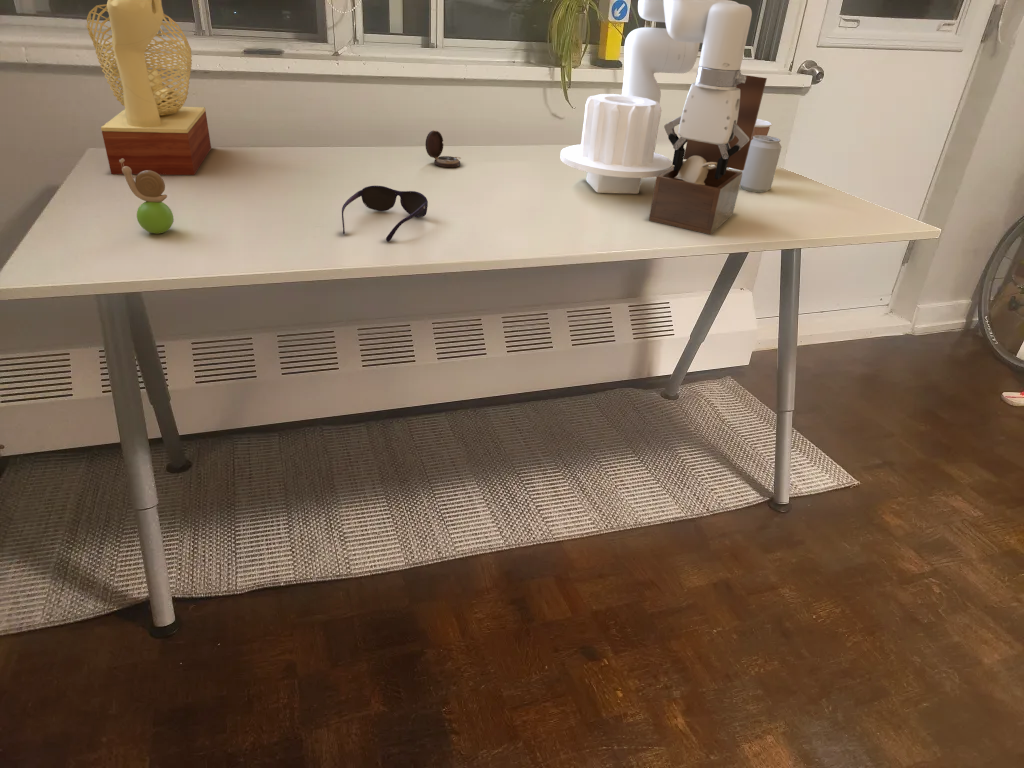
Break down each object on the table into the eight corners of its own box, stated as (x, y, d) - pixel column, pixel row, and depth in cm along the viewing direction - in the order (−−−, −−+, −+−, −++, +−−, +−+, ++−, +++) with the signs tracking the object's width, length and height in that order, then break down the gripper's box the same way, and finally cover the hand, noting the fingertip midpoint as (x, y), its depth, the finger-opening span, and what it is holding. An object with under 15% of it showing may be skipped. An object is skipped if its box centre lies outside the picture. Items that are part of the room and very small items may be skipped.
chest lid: (766, 78, 137) (772, 78, 142) (702, 69, 143) (710, 69, 147) (742, 170, 145) (749, 167, 150) (683, 158, 151) (691, 156, 155)
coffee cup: (745, 163, 192) (756, 117, 186) (768, 173, 184) (780, 125, 178) (713, 163, 189) (723, 116, 183) (734, 174, 181) (746, 125, 175)
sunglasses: (432, 217, 135) (433, 191, 132) (403, 244, 122) (403, 216, 119) (366, 208, 137) (365, 182, 135) (330, 233, 124) (328, 205, 121)
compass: (450, 169, 166) (451, 137, 162) (423, 163, 169) (423, 131, 165) (470, 163, 172) (471, 132, 168) (443, 157, 175) (444, 126, 171)
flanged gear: (682, 204, 154) (700, 113, 144) (571, 202, 150) (582, 108, 140) (645, 173, 175) (659, 92, 165) (547, 171, 171) (555, 87, 161)
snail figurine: (141, 226, 121) (126, 154, 114) (180, 227, 121) (167, 156, 115) (129, 237, 116) (112, 163, 110) (169, 238, 117) (156, 165, 110)
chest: (710, 234, 138) (720, 189, 133) (648, 220, 143) (656, 176, 138) (732, 214, 151) (742, 172, 146) (675, 201, 156) (683, 160, 151)
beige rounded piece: (689, 177, 146) (694, 150, 143) (715, 189, 139) (722, 162, 136) (673, 178, 144) (678, 151, 141) (699, 190, 138) (705, 163, 135)
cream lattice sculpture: (195, 177, 147) (163, -16, 129) (100, 176, 143) (54, -23, 125) (213, 148, 167) (188, -22, 149) (130, 146, 164) (94, -28, 146)
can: (771, 195, 166) (785, 142, 160) (739, 191, 167) (751, 138, 161) (768, 186, 172) (781, 135, 166) (737, 182, 173) (749, 132, 167)
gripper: (768, 83, 130) (745, 178, 139) (678, 70, 137) (662, 162, 146) (759, 87, 125) (735, 186, 134) (665, 73, 132) (649, 169, 141)
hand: (697, 173), depth 140 cm, fingers closed on beige rounded piece, 7 cm apart
